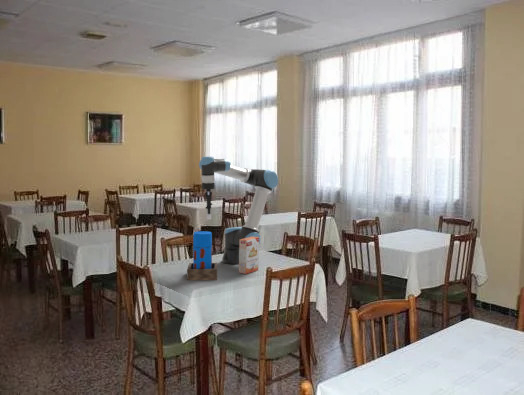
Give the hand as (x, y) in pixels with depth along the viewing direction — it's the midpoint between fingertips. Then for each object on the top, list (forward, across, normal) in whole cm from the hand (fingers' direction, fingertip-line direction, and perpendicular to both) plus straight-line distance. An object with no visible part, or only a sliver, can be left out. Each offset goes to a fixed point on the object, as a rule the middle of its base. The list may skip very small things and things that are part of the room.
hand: (209, 217), depth 309 cm
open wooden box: (+34, +9, -5) cm, 35 cm away
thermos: (+33, +9, -5) cm, 34 cm away
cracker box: (+35, 0, +23) cm, 42 cm away
